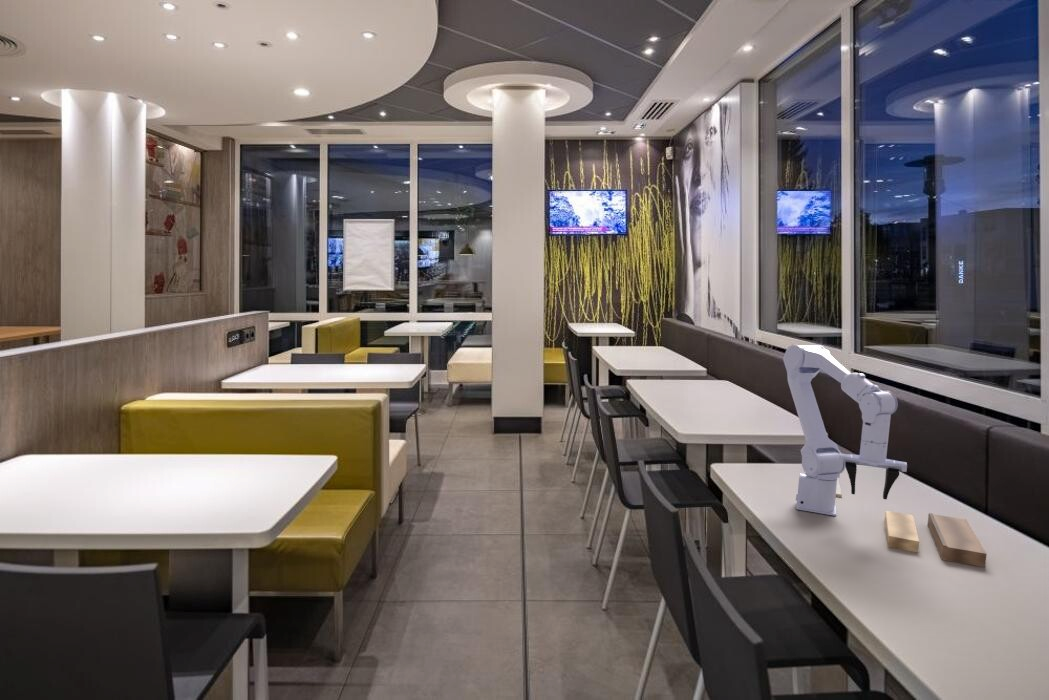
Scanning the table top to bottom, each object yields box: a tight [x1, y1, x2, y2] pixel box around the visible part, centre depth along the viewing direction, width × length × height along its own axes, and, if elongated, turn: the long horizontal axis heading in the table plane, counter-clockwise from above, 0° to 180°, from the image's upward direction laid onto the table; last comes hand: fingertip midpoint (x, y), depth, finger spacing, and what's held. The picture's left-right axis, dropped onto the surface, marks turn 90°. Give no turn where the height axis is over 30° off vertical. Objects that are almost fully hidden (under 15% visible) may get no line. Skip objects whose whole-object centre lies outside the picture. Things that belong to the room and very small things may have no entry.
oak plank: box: [884, 510, 920, 553], centre depth 161 cm, size 6×20×3 cm, turn 154°
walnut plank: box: [927, 512, 987, 568], centre depth 157 cm, size 8×24×3 cm, turn 156°
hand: (868, 495), depth 164 cm, fingers open, 6 cm apart
